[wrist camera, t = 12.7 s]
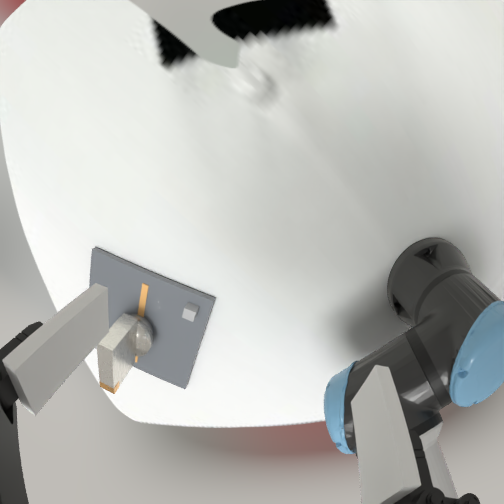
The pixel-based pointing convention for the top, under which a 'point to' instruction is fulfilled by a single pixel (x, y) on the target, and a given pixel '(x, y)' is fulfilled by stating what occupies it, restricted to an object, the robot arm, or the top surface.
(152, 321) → the post plate
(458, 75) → the top surface
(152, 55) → the top surface
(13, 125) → the top surface
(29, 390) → the robot arm
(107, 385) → the grey block knob
